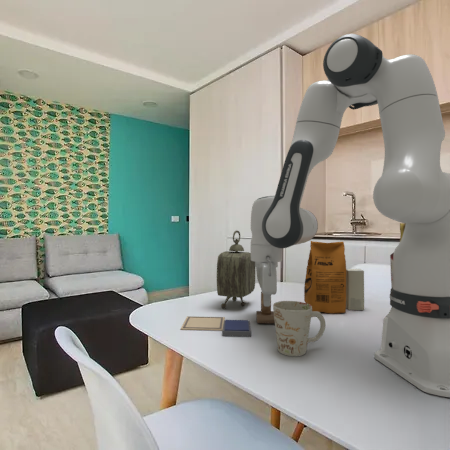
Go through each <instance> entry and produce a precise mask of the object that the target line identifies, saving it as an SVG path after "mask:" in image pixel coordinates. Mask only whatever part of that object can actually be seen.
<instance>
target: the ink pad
mask: <svg viewBox="0 0 450 450" xmlns="http://www.w3.org/2000/svg"><path fill="white" fill-rule="evenodd" d="M221 336H222V337H240V338H241V337H244V338H245V337H246V338H249V337H250V338H251V337H252V327H251V320H248V319H225V320H224V324H223V331H222V334H221Z"/></svg>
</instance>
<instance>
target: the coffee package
mask: <svg viewBox="0 0 450 450" xmlns="http://www.w3.org/2000/svg"><path fill="white" fill-rule="evenodd" d="M344 243H345V242H344V241H333V242H321V241H314V240H313V241H312V240H310V250H309V253H308V259H307V266H306V274H305V280H304V287H303V293H304V294H303V297H304V299H303V300H304V301H303V302H304V303H307V304H310V305H311V306H312V311H318V312H320V313H325V314H330V315H331V314H344V313H346V311H347V308H346V269H347V261H346V255H345V252H346V251H345V250H346V247H345V244H344Z"/></svg>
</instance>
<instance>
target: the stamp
mask: <svg viewBox="0 0 450 450" xmlns="http://www.w3.org/2000/svg"><path fill="white" fill-rule="evenodd" d="M255 313H256V315H255V317H256V322H257V324H275V320H274V311H273V310H272V299H271V300H270V306H269V307H267V306H264V304H263V293H262V291H261V292H260V310H257V311H256V312H255Z"/></svg>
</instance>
